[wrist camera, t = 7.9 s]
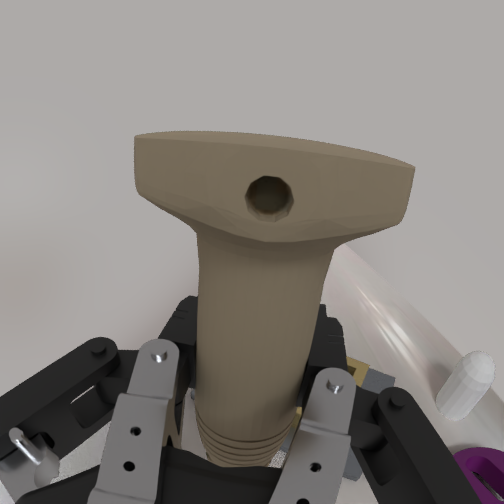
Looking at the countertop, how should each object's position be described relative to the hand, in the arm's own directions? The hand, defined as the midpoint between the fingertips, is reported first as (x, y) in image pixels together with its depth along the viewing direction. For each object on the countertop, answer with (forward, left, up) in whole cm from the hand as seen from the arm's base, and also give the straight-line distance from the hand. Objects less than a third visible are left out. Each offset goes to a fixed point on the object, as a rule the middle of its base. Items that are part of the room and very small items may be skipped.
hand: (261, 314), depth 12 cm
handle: (0, +3, -8) cm, 9 cm away
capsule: (-25, -6, -18) cm, 31 cm away
